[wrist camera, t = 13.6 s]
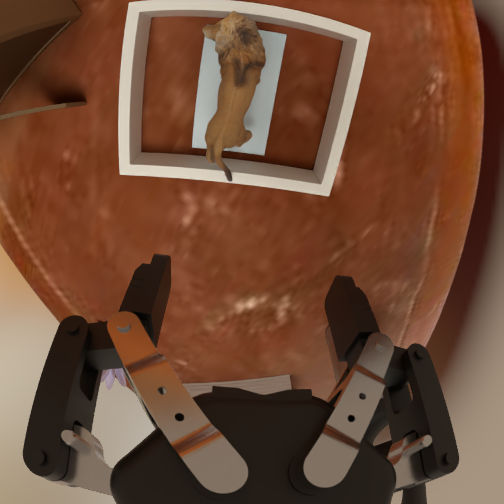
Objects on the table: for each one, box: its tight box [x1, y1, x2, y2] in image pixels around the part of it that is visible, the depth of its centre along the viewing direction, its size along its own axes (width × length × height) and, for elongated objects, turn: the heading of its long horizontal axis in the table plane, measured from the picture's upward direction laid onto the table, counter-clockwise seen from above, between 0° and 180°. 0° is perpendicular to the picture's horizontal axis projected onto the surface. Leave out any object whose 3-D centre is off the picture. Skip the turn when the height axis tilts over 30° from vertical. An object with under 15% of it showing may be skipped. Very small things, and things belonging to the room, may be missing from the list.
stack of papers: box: [183, 374, 292, 398], centre depth 62 cm, size 32×11×11 cm, turn 100°
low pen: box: [118, 0, 371, 196], centre depth 24 cm, size 22×18×4 cm
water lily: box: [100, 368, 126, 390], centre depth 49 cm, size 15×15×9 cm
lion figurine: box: [202, 11, 266, 181], centre depth 21 cm, size 15×5×9 cm, turn 178°
